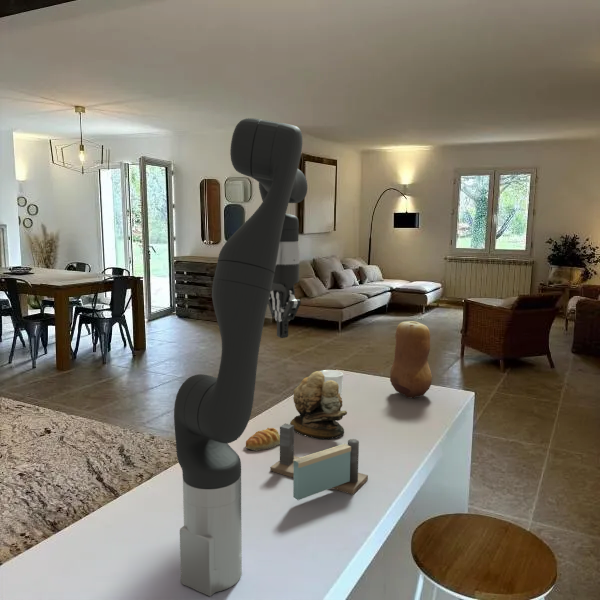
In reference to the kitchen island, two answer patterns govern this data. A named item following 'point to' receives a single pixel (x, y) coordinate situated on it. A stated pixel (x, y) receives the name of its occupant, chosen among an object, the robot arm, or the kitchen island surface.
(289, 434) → the gate frame
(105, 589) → the kitchen island surface
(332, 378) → the white cup
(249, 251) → the robot arm
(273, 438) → the pastry
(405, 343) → the butternut squash
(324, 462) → the gate panel
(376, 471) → the kitchen island surface
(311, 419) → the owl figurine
